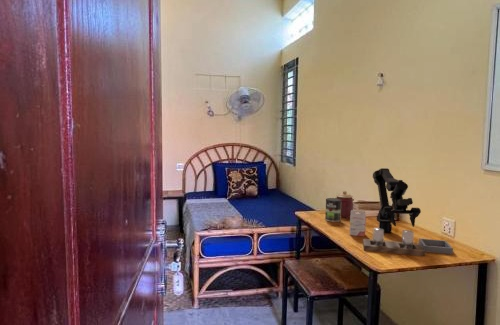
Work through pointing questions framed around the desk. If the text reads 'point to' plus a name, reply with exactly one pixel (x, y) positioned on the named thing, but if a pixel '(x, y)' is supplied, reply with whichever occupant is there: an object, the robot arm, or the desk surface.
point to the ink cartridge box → (357, 223)
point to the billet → (378, 236)
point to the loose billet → (407, 239)
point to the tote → (434, 243)
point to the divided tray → (393, 248)
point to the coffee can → (333, 209)
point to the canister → (346, 203)
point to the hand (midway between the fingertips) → (404, 226)
